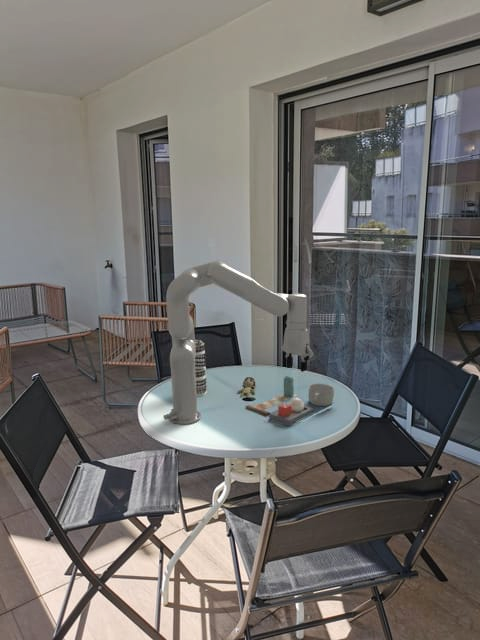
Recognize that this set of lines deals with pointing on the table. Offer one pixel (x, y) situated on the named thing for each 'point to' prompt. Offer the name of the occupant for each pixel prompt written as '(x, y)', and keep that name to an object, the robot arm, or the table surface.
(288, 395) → the green capsule
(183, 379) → the robot arm
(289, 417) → the base
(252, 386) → the figurine
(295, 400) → the dome
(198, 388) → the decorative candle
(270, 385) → the table surface
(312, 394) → the teacup
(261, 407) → the track board
